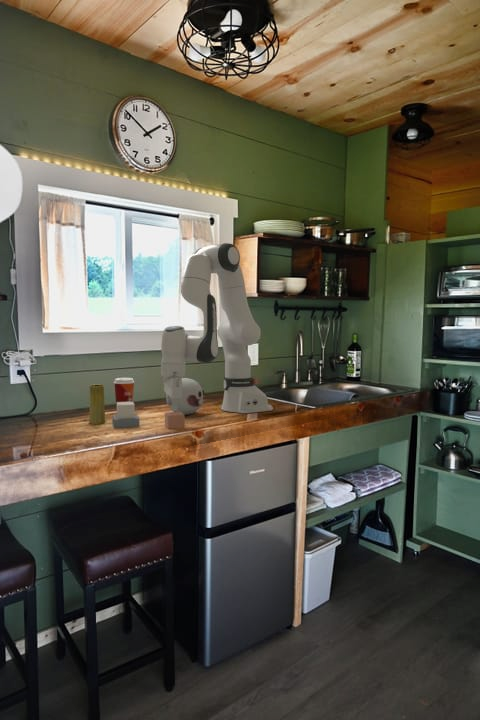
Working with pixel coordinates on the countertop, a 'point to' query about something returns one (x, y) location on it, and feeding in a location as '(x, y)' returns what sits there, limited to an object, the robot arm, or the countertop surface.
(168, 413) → the brick
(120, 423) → the base
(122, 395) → the coffee cup
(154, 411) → the countertop surface
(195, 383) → the toy
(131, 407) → the brick
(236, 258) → the robot arm
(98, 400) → the vase
